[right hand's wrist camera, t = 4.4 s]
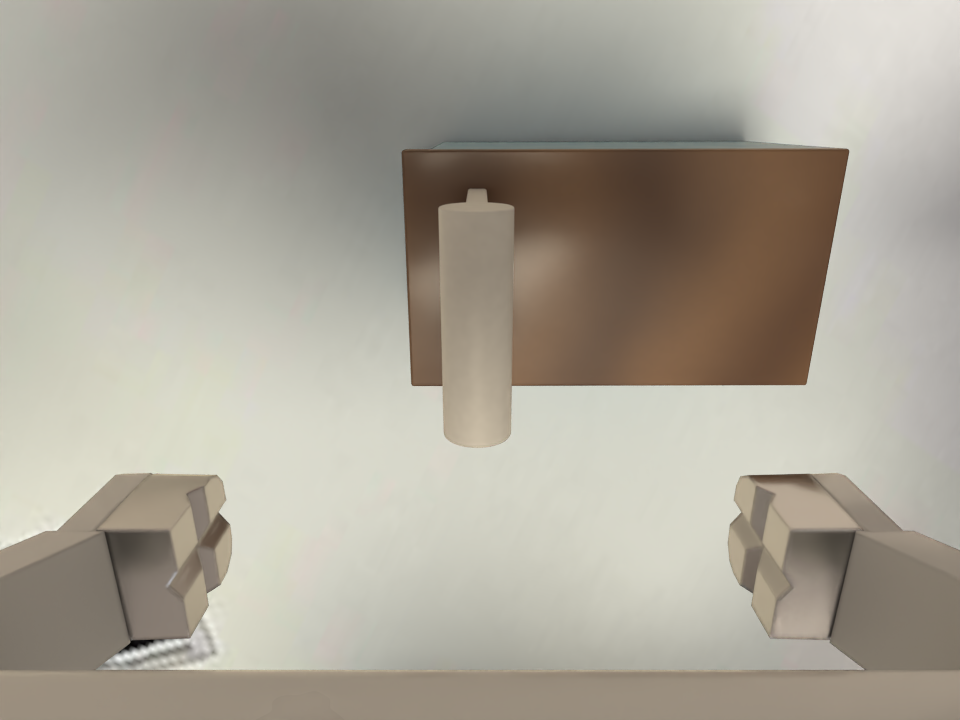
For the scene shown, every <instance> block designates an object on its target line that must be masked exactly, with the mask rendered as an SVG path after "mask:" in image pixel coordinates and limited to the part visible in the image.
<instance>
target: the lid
mask: <svg viewBox="0 0 960 720" xmlns="http://www.w3.org/2000/svg"><path fill="white" fill-rule="evenodd" d="M848 155H849V150H848V149H843V148H689V149H405V150H403V151H402V172H403V196H404V220H405V244H406V268H407V292H408V315H409V339H410V363H411V384H412V386H443V421H444V435H445V437H446V438H447V439H448V440H449V441H450V442H452V443H454V444H457V445H460V446H464V447H472V448H483V447H490V446H495V445H498V444H500V443H502V442H504V441H505V440H507V439H508V438H509V436H510V434H511V395H512V386H587V385H806V383H807V378H808V372H809V367H810V361H811V356H812V351H813V345H814V340H815V334H816V329H817V323H818V318H819V313H820V307H821V302H822V296H823V291H824V285H825V280H826V275H827V269H828V264H829V258H830V253H831V247H832V242H833V237H834V231H835V226H836V220H837V215H838V209H839V204H840V199H841V193H842V188H843V182H844V177H845V171H846V166H847V161H848Z"/></svg>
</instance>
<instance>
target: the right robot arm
mask: <svg viewBox="0 0 960 720" xmlns="http://www.w3.org/2000/svg"><path fill="white" fill-rule="evenodd" d="M225 501H226V496H225V491H224V486H223V481H222V480H221V479H220V478H219V477H218V476H217V475H194V474H151V473H136V474H119V475H115V476H114V477H113V478H112V479H111V480H110V481H109V482H108V483H107V484H106V485H105V486H103V487H102V488H101V489H100V490H99V491H98V492H97V493H96V494H95V495H94V496H93V497H92V498H91V499H90V500H89V501H88V502H87V503H86V504H85V505H84V506H82V507H81V508H80V509H79V510H78V511H77V512H76V513H75V514H74V515H73V516H72V517H71V518H70V519H69V520H68V521H67V522H66V523H65V524H64V525H63V526H61V527H60V528H59V529H58V530H57V531H45V532H43V533H40V534H38V535H36V536H33V537H31V538H28V539H26V540H24V541H21V542H19V543H17V544H14V545H12V546H10V547H7V548H5V549H2V550H0V720H960V550H957V549H955V548H953V547H950V546H948V545H946V544H943V543H941V542H939V541H936V540H934V539H931V538H929V537H927V536H924V535H922V534H920V533H917V532H915V531H903V530H902V529H901V528H900V527H899V526H898V525H896V524H895V523H894V522H893V521H892V520H891V519H890V518H889V517H888V516H887V515H886V514H885V513H884V512H883V511H882V510H881V509H880V508H879V507H878V506H877V505H876V504H875V503H873V502H872V501H871V500H870V499H869V498H868V497H867V496H866V495H865V494H864V493H863V492H862V491H861V490H860V489H859V488H858V487H857V486H856V485H855V484H854V483H853V482H851V481H850V480H849V479H848V478H847V477H846V476H845V475H842V474H839V473H824V474H784V475H747V476H740V478H739V481H738V483H737V485H736V490H735V496H734V501H735V503H736V504H737V506H738V507H739V509H740V510H741V513H740V515H739V516H738V517H737V518H736V519H735V520H734V521H733V522H732V523H731V524H730V528H729V537H728V551H729V561H730V564H731V567H732V570H733V573H734V575H735V577H736V579H737V581H738V583H739V585H741V586H742V587H744V588H745V589H747V590H748V591H750V592H752V593H753V598H752V604H751V606H752V608H753V610H754V611H755V613H756V615H757V617H758V618H759V620H760V622H761V624H762V625H763V627H764V629H765V630H766V632H767V634H768V636H769V637H770V638H776V639H813V640H830V643H831V644H832V645H833V646H835V647H836V648H837V649H839V650H840V651H841V652H843V653H844V654H845V655H847V656H848V657H849V658H850V659H852V660H853V661H854V662H856V663H857V664H858V665H860V666H861V667H862V668H864V669H865V670H95V669H97V668H98V667H99V666H101V665H102V664H103V663H104V662H106V661H107V660H108V659H110V658H111V657H112V656H114V655H115V654H116V653H118V652H119V651H120V650H122V649H123V648H124V647H125V646H127V645H128V644H129V643H130V640H146V639H182V638H191V636H192V634H193V632H194V631H195V629H196V627H197V625H198V624H199V622H200V620H201V618H202V617H203V615H204V613H205V611H206V610H207V608H208V606H209V604H208V598H207V593H208V592H210V591H212V590H213V589H215V588H216V587H218V586H219V585H221V583H222V581H223V579H224V577H225V575H226V573H227V571H228V567H229V563H230V558H231V554H232V535H231V528H230V524H229V523H228V522H227V521H226V520H225V519H224V518H223V517H222V516H221V515H220V513H219V510H220V509H221V507H222V506H223V504H224V503H225Z"/></svg>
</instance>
